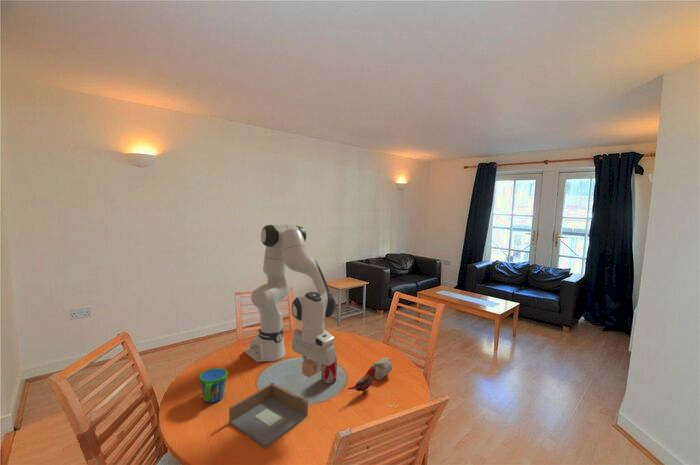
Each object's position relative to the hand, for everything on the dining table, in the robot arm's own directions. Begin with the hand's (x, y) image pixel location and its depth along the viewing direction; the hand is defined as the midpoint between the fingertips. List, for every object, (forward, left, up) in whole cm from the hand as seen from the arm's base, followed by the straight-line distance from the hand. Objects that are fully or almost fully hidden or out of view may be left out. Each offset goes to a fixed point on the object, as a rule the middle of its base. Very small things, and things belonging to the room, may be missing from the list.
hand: (312, 368), depth 125 cm
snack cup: (-35, -21, -16) cm, 43 cm away
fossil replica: (+11, +36, -16) cm, 41 cm away
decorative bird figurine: (+12, +18, -16) cm, 27 cm away
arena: (-7, -16, -15) cm, 23 cm away
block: (0, 0, -2) cm, 2 cm away
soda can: (-6, +18, -16) cm, 25 cm away
